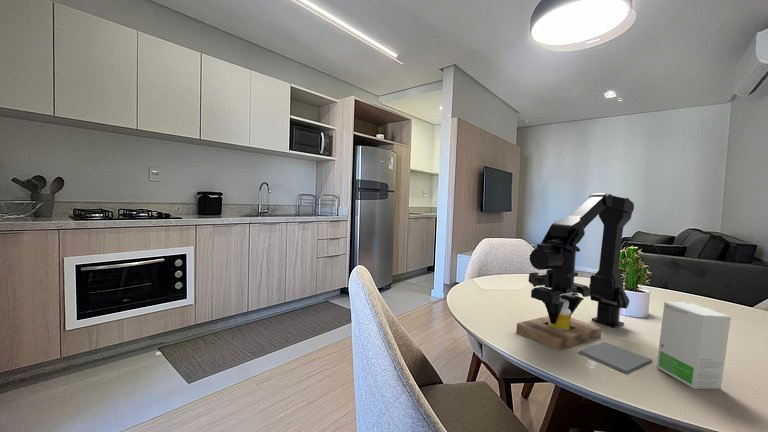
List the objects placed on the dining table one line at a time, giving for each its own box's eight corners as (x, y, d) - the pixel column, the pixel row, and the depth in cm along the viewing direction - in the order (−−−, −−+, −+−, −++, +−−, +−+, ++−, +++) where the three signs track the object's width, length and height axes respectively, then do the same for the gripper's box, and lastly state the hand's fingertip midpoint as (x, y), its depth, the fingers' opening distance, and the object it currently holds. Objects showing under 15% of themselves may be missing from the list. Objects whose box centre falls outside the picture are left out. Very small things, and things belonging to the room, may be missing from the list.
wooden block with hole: (559, 321, 96) (559, 313, 96) (600, 336, 85) (601, 328, 85) (516, 331, 87) (517, 323, 86) (557, 350, 76) (557, 340, 76)
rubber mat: (604, 343, 81) (605, 341, 81) (651, 361, 72) (651, 359, 72) (578, 352, 75) (579, 350, 75) (626, 373, 66) (626, 370, 66)
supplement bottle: (572, 339, 83) (575, 304, 82) (551, 337, 84) (553, 302, 83) (565, 331, 88) (567, 298, 88) (545, 329, 89) (547, 296, 89)
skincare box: (655, 367, 69) (660, 301, 69) (681, 367, 70) (687, 301, 69) (696, 390, 61) (702, 314, 60) (725, 390, 62) (732, 314, 61)
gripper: (555, 260, 97) (552, 308, 97) (515, 263, 88) (512, 316, 88) (593, 267, 87) (589, 320, 87) (552, 272, 78) (549, 331, 79)
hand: (559, 321), depth 86 cm, fingers closed on supplement bottle, 5 cm apart
